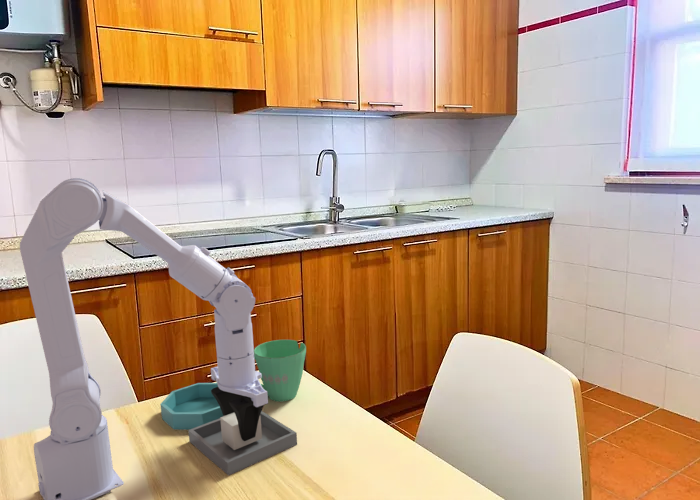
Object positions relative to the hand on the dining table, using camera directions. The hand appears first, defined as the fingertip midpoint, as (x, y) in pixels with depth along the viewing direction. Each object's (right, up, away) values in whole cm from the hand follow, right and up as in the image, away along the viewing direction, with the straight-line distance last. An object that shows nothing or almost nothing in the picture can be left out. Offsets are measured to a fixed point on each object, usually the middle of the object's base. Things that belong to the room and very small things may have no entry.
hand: (241, 433), depth 88 cm
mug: (+2, +1, +18) cm, 18 cm away
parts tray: (0, -2, 0) cm, 2 cm away
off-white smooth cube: (0, -1, 0) cm, 1 cm away
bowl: (-10, -1, +12) cm, 15 cm away
